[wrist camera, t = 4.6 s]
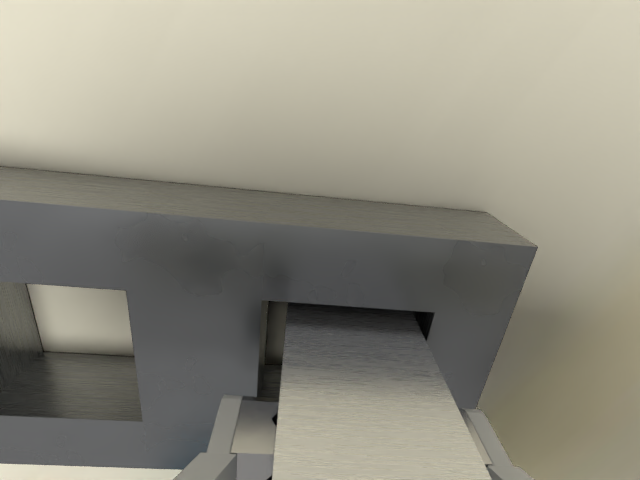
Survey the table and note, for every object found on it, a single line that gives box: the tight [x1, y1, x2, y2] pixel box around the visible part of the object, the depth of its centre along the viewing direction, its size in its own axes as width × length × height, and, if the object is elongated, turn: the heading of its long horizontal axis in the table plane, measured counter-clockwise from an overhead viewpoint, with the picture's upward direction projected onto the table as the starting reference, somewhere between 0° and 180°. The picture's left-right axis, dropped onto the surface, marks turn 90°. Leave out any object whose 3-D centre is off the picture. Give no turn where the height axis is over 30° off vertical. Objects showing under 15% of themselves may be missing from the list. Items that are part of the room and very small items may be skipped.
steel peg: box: [272, 302, 492, 480], centre depth 10 cm, size 4×4×9 cm
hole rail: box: [0, 167, 538, 470], centre depth 12 cm, size 28×10×3 cm, turn 84°
